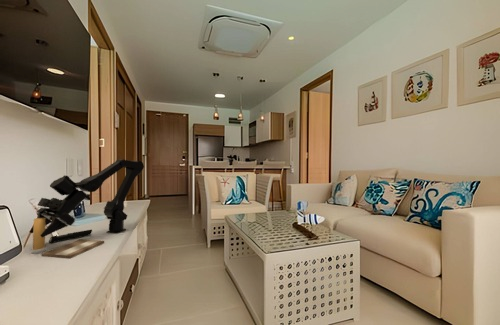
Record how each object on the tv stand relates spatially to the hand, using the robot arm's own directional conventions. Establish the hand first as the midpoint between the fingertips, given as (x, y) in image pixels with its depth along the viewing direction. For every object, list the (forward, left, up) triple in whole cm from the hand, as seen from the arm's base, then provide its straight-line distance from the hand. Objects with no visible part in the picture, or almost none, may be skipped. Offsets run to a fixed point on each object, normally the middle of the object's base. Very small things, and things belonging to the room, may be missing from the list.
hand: (35, 234), depth 83 cm
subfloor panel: (-6, +11, -7) cm, 15 cm away
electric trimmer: (-16, -2, -8) cm, 18 cm away
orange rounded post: (-1, 0, -7) cm, 7 cm away
